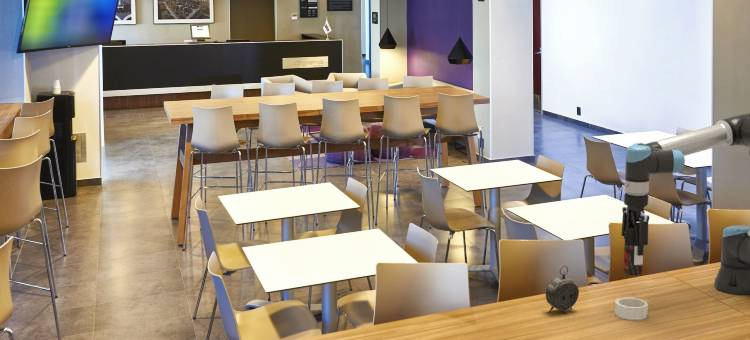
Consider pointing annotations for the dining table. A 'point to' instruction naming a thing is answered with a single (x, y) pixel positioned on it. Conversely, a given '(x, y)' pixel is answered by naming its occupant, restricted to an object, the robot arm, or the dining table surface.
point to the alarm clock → (562, 293)
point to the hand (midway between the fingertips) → (633, 261)
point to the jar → (631, 308)
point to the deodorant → (630, 253)
